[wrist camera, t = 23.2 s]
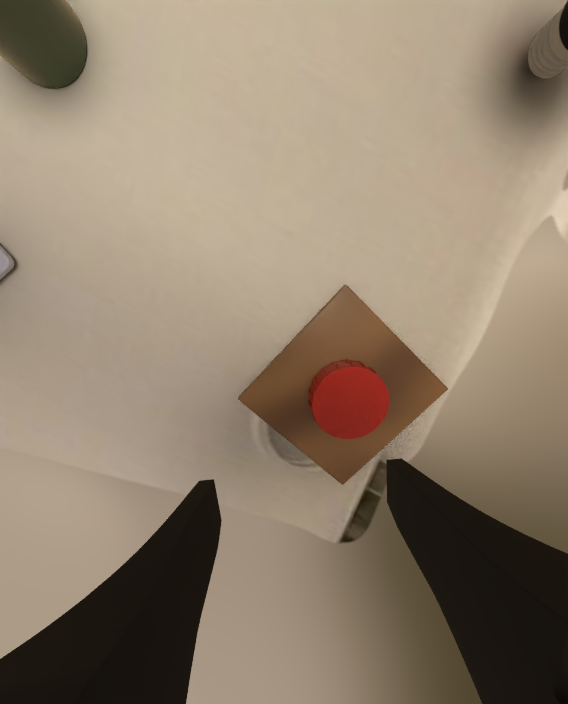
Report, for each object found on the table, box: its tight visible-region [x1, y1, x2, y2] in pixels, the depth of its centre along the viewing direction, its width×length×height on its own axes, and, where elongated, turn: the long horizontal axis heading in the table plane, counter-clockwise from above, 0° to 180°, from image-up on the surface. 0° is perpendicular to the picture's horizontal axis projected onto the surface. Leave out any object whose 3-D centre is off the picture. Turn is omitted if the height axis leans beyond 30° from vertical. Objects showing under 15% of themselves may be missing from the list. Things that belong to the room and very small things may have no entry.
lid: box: [308, 359, 389, 439], centre depth 19 cm, size 5×5×2 cm
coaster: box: [238, 285, 448, 485], centre depth 20 cm, size 11×11×1 cm
